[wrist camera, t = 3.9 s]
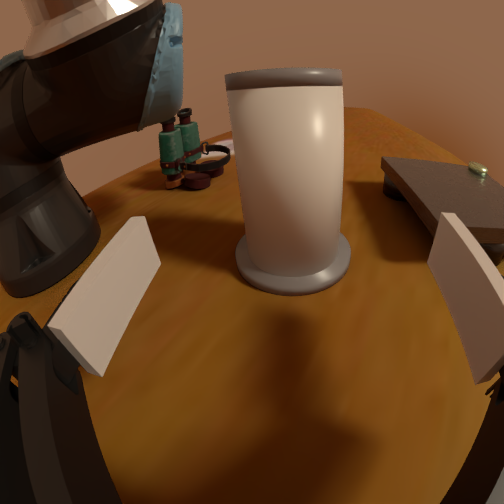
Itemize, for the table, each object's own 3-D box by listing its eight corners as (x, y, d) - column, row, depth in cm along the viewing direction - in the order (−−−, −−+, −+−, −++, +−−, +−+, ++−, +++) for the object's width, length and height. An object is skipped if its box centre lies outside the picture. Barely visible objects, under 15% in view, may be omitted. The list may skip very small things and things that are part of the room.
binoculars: (212, 115, 27) (142, 119, 30) (217, 198, 34) (153, 191, 36) (239, 105, 34) (178, 107, 36) (241, 173, 41) (184, 168, 43)
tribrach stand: (427, 269, 18) (443, 215, 15) (379, 186, 31) (382, 150, 28) (536, 263, 16) (552, 224, 13) (473, 193, 28) (480, 163, 25)
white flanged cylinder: (226, 295, 19) (184, 79, 11) (245, 226, 26) (225, 77, 18) (358, 295, 17) (378, 70, 9) (341, 225, 24) (343, 72, 16)
